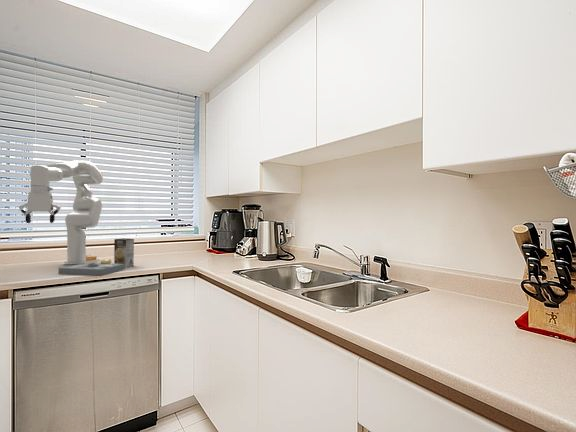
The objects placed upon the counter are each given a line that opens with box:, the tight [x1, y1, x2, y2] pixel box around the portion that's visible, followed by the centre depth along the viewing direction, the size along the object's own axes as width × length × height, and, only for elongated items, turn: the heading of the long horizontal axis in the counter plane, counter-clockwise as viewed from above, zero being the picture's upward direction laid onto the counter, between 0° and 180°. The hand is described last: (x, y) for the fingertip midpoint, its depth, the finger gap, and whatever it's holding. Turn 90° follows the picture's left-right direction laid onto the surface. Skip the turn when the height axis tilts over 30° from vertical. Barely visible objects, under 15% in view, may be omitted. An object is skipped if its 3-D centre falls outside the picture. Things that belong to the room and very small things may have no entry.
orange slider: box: [86, 255, 97, 262], centre depth 172 cm, size 3×4×4 cm
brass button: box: [100, 258, 112, 264], centre depth 163 cm, size 5×5×2 cm
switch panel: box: [58, 262, 126, 276], centre depth 164 cm, size 18×24×4 cm
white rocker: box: [85, 258, 101, 264], centre depth 164 cm, size 4×5×2 cm
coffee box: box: [113, 237, 135, 268], centre depth 184 cm, size 9×6×16 cm
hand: (40, 222), depth 160 cm, fingers open, 9 cm apart
